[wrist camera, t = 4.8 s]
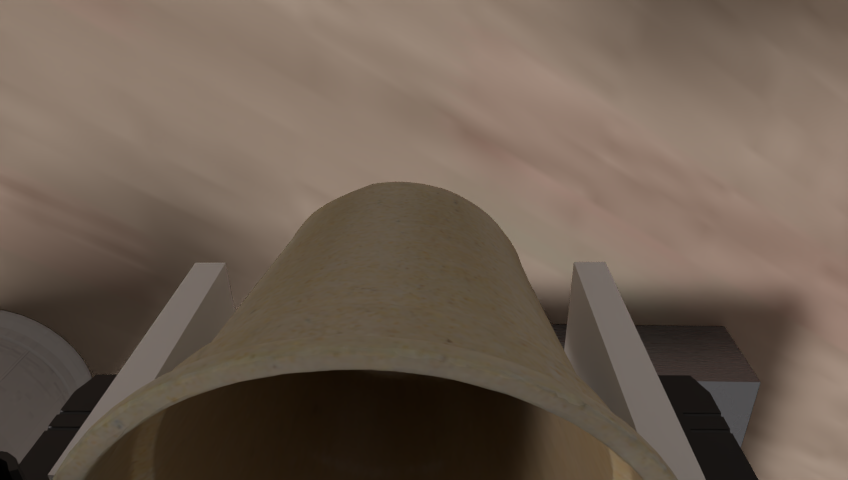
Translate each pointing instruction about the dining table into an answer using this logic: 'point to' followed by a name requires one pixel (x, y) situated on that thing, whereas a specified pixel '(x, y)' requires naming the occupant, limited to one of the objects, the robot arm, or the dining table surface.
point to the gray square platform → (702, 366)
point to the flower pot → (375, 367)
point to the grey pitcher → (33, 380)
